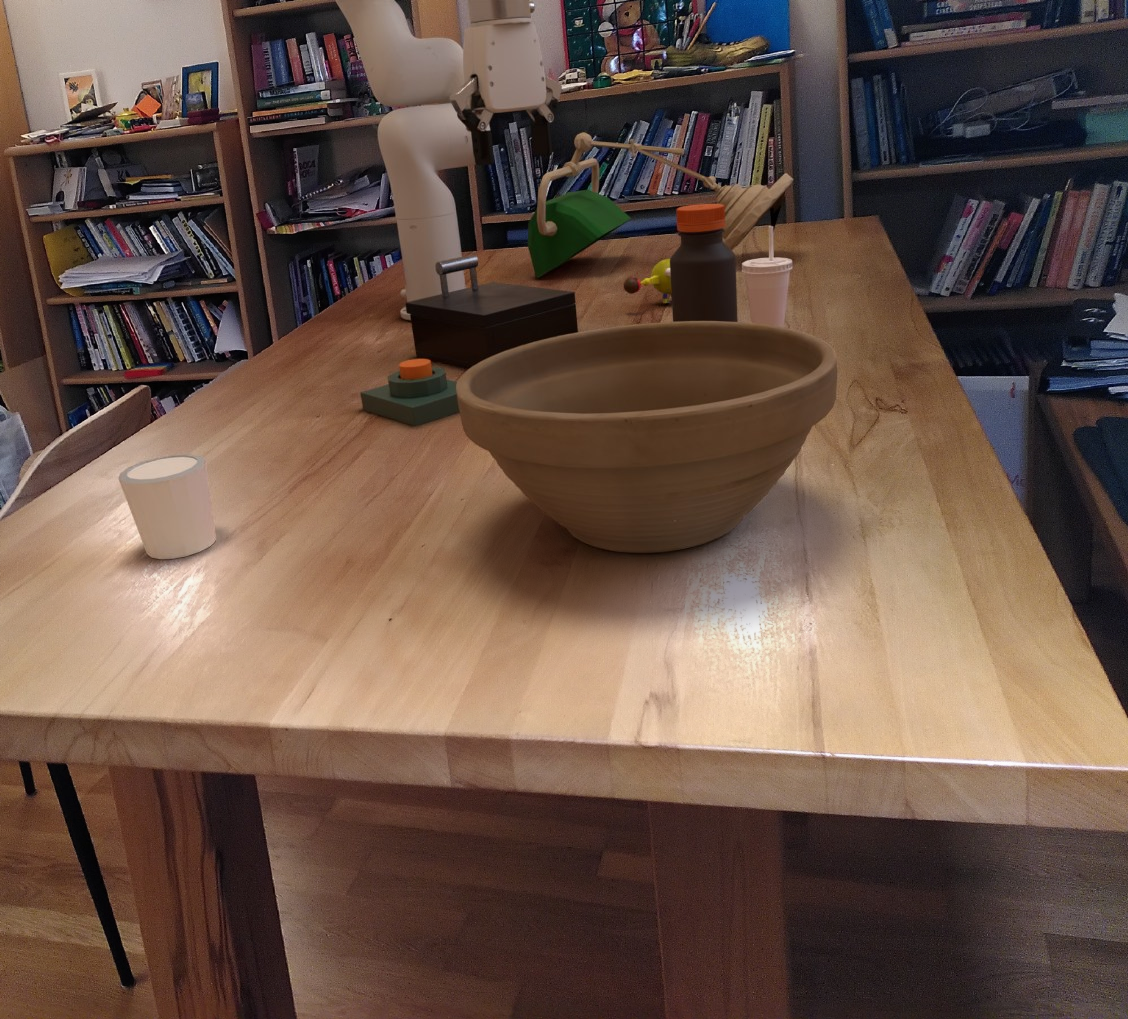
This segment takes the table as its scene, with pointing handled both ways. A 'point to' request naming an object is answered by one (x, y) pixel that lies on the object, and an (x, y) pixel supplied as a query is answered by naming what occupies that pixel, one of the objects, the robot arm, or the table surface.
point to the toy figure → (653, 280)
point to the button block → (413, 398)
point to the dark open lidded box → (486, 336)
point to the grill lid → (485, 298)
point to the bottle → (703, 267)
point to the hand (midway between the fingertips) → (514, 159)
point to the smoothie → (767, 287)
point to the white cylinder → (170, 505)
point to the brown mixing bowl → (650, 425)
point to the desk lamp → (593, 216)
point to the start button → (415, 369)
